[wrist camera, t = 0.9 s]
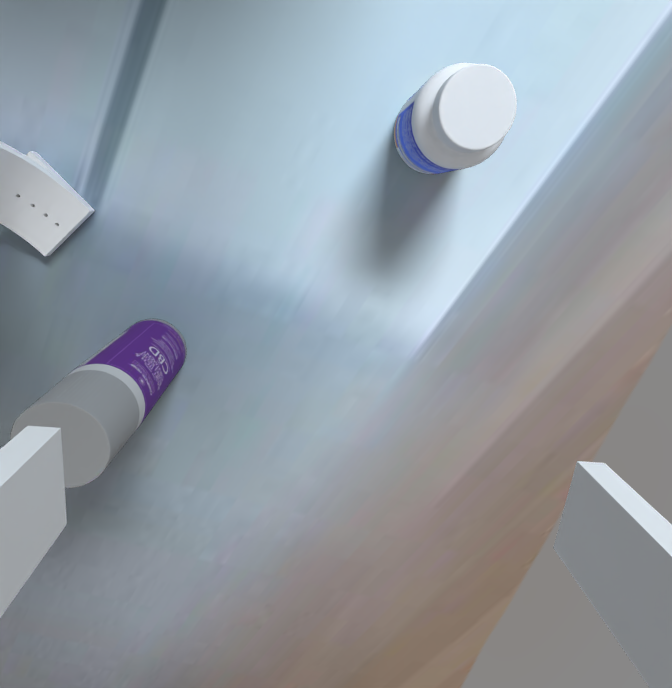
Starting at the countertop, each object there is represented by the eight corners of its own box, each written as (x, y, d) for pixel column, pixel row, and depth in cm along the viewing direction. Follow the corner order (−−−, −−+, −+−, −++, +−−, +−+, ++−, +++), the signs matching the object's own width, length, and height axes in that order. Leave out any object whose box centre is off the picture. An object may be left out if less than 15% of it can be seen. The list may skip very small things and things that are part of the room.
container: (199, 341, 37) (132, 435, 23) (165, 389, 38) (81, 507, 24) (143, 305, 36) (37, 379, 22) (110, 355, 37) (-12, 457, 23)
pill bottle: (443, 189, 35) (492, 188, 26) (377, 148, 34) (404, 132, 25) (486, 115, 34) (554, 87, 25) (419, 71, 33) (464, 23, 24)
